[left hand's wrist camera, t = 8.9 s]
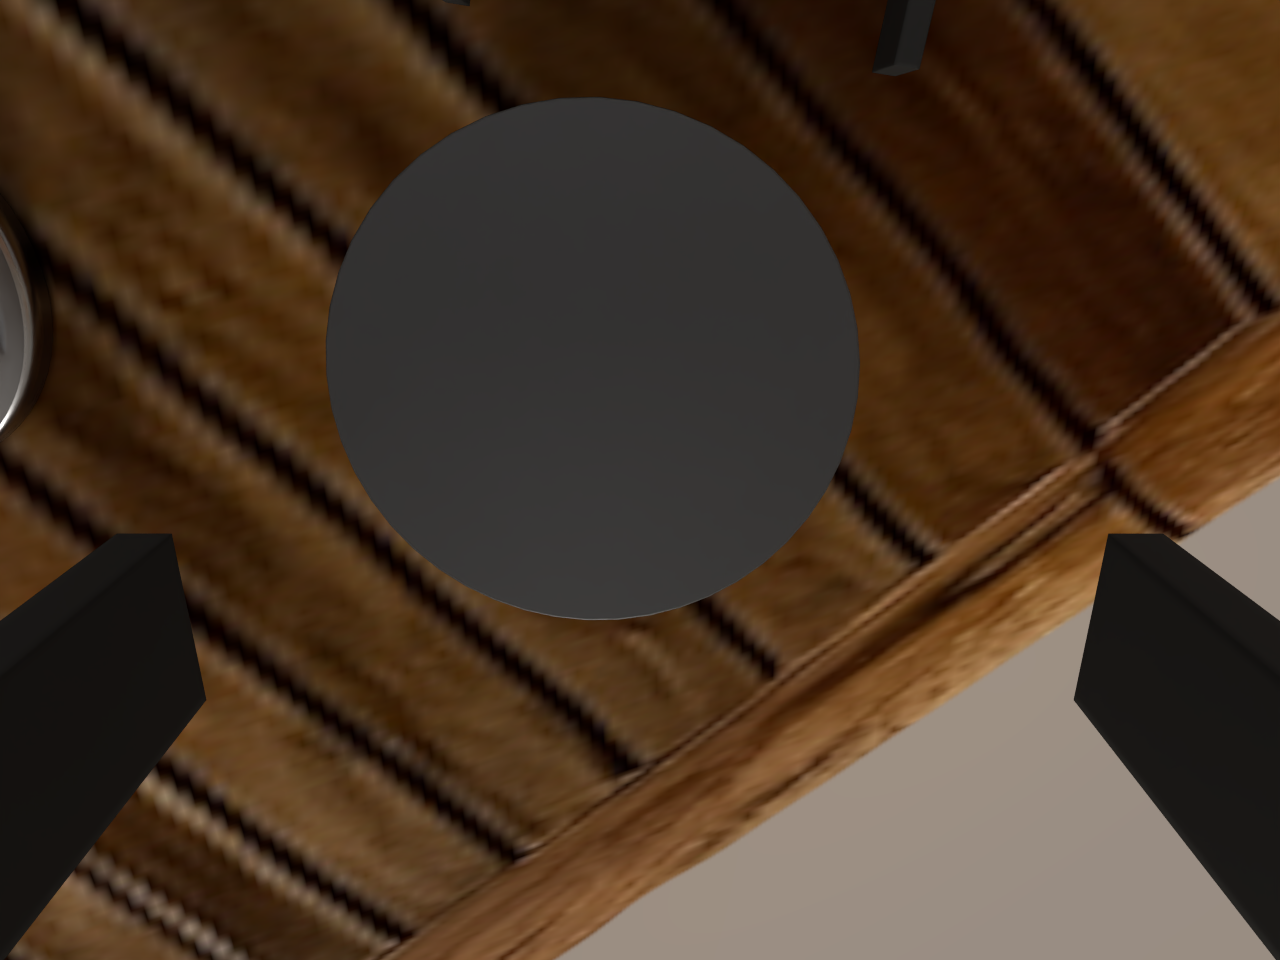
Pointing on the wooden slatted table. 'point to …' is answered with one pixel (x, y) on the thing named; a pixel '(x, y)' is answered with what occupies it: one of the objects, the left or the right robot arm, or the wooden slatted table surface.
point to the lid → (592, 358)
